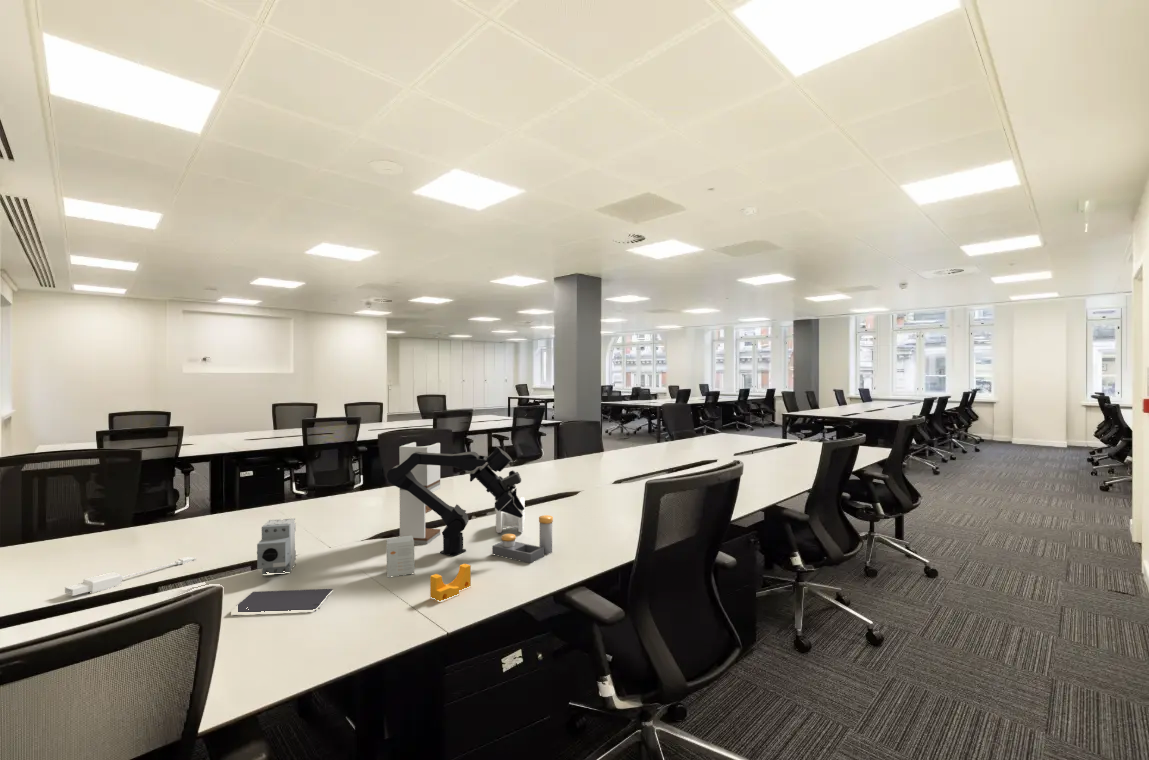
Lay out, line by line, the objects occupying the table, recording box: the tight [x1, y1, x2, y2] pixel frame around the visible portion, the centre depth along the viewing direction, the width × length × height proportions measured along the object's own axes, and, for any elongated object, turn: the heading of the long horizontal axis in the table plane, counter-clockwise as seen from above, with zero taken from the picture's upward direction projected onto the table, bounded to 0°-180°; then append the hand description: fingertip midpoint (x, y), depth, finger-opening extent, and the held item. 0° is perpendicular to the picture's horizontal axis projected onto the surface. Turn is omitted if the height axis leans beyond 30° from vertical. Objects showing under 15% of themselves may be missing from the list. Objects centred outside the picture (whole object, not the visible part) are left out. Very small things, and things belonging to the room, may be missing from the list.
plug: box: [538, 514, 554, 555], centre depth 183 cm, size 5×5×12 cm
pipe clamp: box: [429, 563, 472, 601], centre depth 148 cm, size 12×4×6 cm, turn 141°
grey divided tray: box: [491, 533, 545, 564], centre depth 179 cm, size 8×16×6 cm, turn 59°
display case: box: [398, 441, 441, 545], centre depth 196 cm, size 11×11×35 cm
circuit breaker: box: [256, 517, 297, 575], centre depth 162 cm, size 8×14×15 cm, turn 15°
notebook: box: [237, 588, 334, 612], centre depth 142 cm, size 13×2×21 cm
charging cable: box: [64, 556, 197, 597], centre depth 159 cm, size 5×32×3 cm, turn 156°
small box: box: [386, 536, 416, 578], centre depth 163 cm, size 8×6×10 cm
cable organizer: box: [494, 496, 526, 534], centre depth 208 cm, size 15×11×12 cm
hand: (522, 513), depth 182 cm, fingers open, 9 cm apart
